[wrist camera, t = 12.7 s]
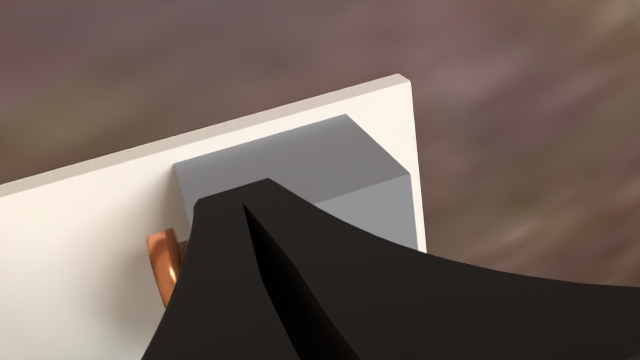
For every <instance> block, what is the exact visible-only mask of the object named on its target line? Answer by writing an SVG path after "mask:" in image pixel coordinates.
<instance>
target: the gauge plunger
mask: <svg viewBox="0 0 640 360" xmlns="http://www.w3.org/2000/svg"><path fill="white" fill-rule="evenodd" d="M188 242H189V239H188V240H185V241H182V242H179V241H178V238H177V235H176V233H175V231H174V229H173V227H172V228H169V229H166V230H162V231H159V232H156V233H153V234H149V235H147V236H146V244H147V250H148V255H149V259H150V263H151V267H152V270H153V274H154V277H155V281H156V284H157V287H158V290H159V293H160V296H161V299H162V302H163V305H164V307H165V310H166V307H167V305H168V302H169V300H170V297H171V294H172V292H173V289H174V287H175V284H176V281H177V279H178V276H179V273H180V270H181V267H182V263H183V260H184V256H185V253H186V249H187V246H188Z"/></svg>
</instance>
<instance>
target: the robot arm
mask: <svg viewBox="0 0 640 360" xmlns="http://www.w3.org/2000/svg"><path fill="white" fill-rule="evenodd" d="M141 360H640V287H627V286H612V285H597V284H584V283H575V282H568V281H560V280H553V279H546V278H538V277H531V276H525V275H519V274H513V273H507V272H502V271H496V270H492V269H487V268H483V267H478V266H474V265H470V264H465V263H461V262H456V261H452V260H449V259H445V258H441V257H438V256H434V255H431V254H428V253H424V252H421V251H418V250H415V249H412V248H409V247H406V246H403V245H400V244H397V243H394V242H392V241H389V240H386V239H384V238H381V237H379V236H376V235H374V234H372V233H369V232H367V231H365V230H363V229H360V228H358V227H356V226H353V225H351V224H349V223H347V222H345V221H343V220H341V219H339V218H337V217H335V216H333V215H331V214H329V213H328V212H326V211H324V210H322V209H320V208H318V207H317V206H315V205H313V204H311V203H310V202H308V201H306V200H305V199H303V198H301V197H300V196H298V195H296V194H295V193H293V192H291V191H290V190H288V189H287V188H285V187H283V186H282V185H280V184H279V183H277V182H275V181H273V180H272V179H270V178H266V179H262V180H259V181H256V182H252V183H249V184H246V185H243V186H239V187H236V188H233V189H229V190H226V191H223V192H220V193H216V194H213V195H210V196H206V197H203V198H200V199H198V200H197V202H196V203H195V205H194V207H193V222H192V228H191V233H190V238H189V242H188V246H187V249H186V253H185V256H184V260H183V263H182V267H181V270H180V273H179V276H178V279H177V281H176V284H175V287H174V289H173V292H172V294H171V297H170V300H169V302H168V305H167V307H166V310H165V312H164V314H163V316H162V319H161V321H160V323H159V325H158V327H157V329H156V331H155V333H154V335H153V337H152V339H151V341H150V343H149V345H148V347H147V349H146V351H145V353H144V354H143V356H142V358H141Z"/></svg>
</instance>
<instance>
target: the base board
mask: <svg viewBox="0 0 640 360" xmlns="http://www.w3.org/2000/svg"><path fill="white" fill-rule="evenodd" d="M342 114H347V115H348V116H349V117H350V118H351V119H352V120H353V121H354V122H356V123H357V124H358V125H359V126H360V127H361V128H362V129H363V130H364V131H365V132H366V133H367V134H368V135H370V136H371V137H372V138H373V139H374V140H375V141H376V142H377V143H378V144H379V145H380V146H381V147H382V148H384V149H385V150H386V151H387V152H388V153H389V154H390V155H391V156H392V157H393V158H394V159H395V160H397V161H398V162H399V163H400V164H401V165H402V166H403V167H404V168H405V169H406V170H407V171H408V172H409V173H410V174H411V184H412V193H413V203H414V213H415V223H416V232H417V242H418V251H421V252H424V253H427V252H426V242H425V231H424V220H423V210H422V199H421V189H420V178H419V167H418V157H417V146H416V136H415V125H414V114H413V104H412V93H411V83H410V81H409V80H408V79H406V78H405V77H403V76H401V75H400V74H394V75H391V76H387V77H383V78H380V79H376V80H373V81H369V82H366V83H362V84H358V85H355V86H351V87H348V88H344V89H341V90H337V91H333V92H330V93H326V94H323V95H319V96H316V97H312V98H308V99H305V100H301V101H298V102H294V103H291V104H287V105H284V106H280V107H276V108H273V109H269V110H266V111H262V112H259V113H255V114H251V115H248V116H244V117H241V118H237V119H234V120H230V121H226V122H223V123H219V124H216V125H212V126H209V127H205V128H201V129H198V130H194V131H191V132H187V133H184V134H180V135H176V136H173V137H169V138H166V139H162V140H159V141H155V142H151V143H148V144H144V145H141V146H137V147H134V148H130V149H126V150H123V151H119V152H116V153H112V154H109V155H105V156H102V157H98V158H94V159H91V160H87V161H84V162H80V163H77V164H73V165H69V166H66V167H62V168H59V169H55V170H52V171H48V172H44V173H41V174H37V175H34V176H30V177H27V178H23V179H19V180H16V181H12V182H9V183H5V184H2V185H0V360H141V358H142V356H143V354H144V353H145V351H146V349H147V347H148V345H149V343H150V341H151V339H152V337H153V335H154V333H155V331H156V329H157V327H158V325H159V323H160V321H161V319H162V316H163V314H164V312H165V307H164V305H163V302H162V299H161V296H160V293H159V290H158V287H157V284H156V281H155V277H154V274H153V270H152V267H151V263H150V259H149V255H148V250H147V244H146V236H147V235H149V234H153V233H156V232H159V231H162V230H166V229H169V228H172V227H173V229H174V231H175V233H176V235H177V238H178V241H179V242H182V241H185V240H188V239H189V238H190V233H191V227H190V224H189V220H188V216H187V212H186V208H185V204H184V201H183V197H182V193H181V189H180V185H179V181H178V178H177V174H176V170H175V166H174V163H177V162H180V161H183V160H187V159H190V158H194V157H197V156H201V155H204V154H208V153H211V152H215V151H218V150H221V149H225V148H228V147H232V146H235V145H239V144H242V143H246V142H249V141H253V140H256V139H259V138H263V137H266V136H270V135H273V134H277V133H280V132H284V131H287V130H291V129H294V128H297V127H301V126H304V125H308V124H311V123H315V122H318V121H322V120H325V119H329V118H332V117H335V116H339V115H342Z"/></svg>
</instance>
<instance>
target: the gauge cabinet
mask: <svg viewBox="0 0 640 360" xmlns="http://www.w3.org/2000/svg"><path fill="white" fill-rule="evenodd" d="M174 166H175V170H176V174H177V178H178V181H179V185H180V189H181V193H182V197H183V201H184V204H185V208H186V212H187V216H188V220H189V224H190V227H191V228H192V222H193V207H194V205H195V203H196V202H197V200H198V199H200V198H203V197H206V196H210V195H213V194H216V193H220V192H223V191H226V190H229V189H233V188H236V187H239V186H243V185H246V184H249V183H252V182H256V181H259V180H262V179H266V178H270V179H272V180H273V181H275V182H277V183H279V184H280V185H282V186H283V187H285V188H287V189H288V190H290V191H291V192H293V193H295V194H296V195H298V196H300V197H301V198H303V199H305V200H306V201H308V202H310V203H311V204H313V205H315V206H317V207H318V208H320V209H322V210H324V211H326V212H328V213H329V214H331V215H333V216H335V217H337V218H339V219H341V220H343V221H345V222H347V223H349V224H351V225H353V226H356V227H358V228H360V229H363V230H365V231H367V232H369V233H372V234H374V235H376V236H379V237H381V238H384V239H386V240H389V241H392V242H394V243H397V244H400V245H403V246H406V247H409V248H412V249H415V250H418V242H417V232H416V223H415V213H414V203H413V193H412V184H411V174H410V173H409V172H408V171H407V170H406V169H405V168H404V167H403V166H402V165H401V164H400V163H399V162H398V161H397V160H395V159H394V158H393V157H392V156H391V155H390V154H389V153H388V152H387V151H386V150H385V149H384V148H382V147H381V146H380V145H379V144H378V143H377V142H376V141H375V140H374V139H373V138H372V137H371V136H370V135H368V134H367V133H366V132H365V131H364V130H363V129H362V128H361V127H360V126H359V125H358V124H357V123H356V122H354V121H353V120H352V119H351V118H350V117H349V116H348V115H347V114H342V115H339V116H335V117H332V118H329V119H325V120H322V121H318V122H315V123H311V124H308V125H304V126H301V127H297V128H294V129H291V130H287V131H284V132H280V133H277V134H273V135H270V136H266V137H263V138H259V139H256V140H253V141H249V142H246V143H242V144H239V145H235V146H232V147H228V148H225V149H221V150H218V151H215V152H211V153H208V154H204V155H201V156H197V157H194V158H190V159H187V160H183V161H180V162H177V163H174Z"/></svg>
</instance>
